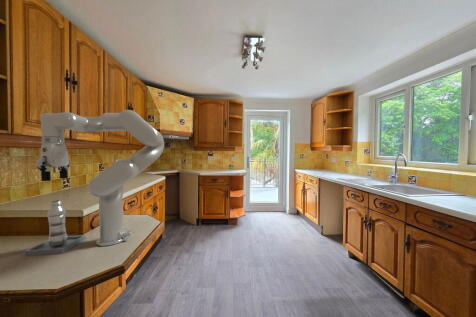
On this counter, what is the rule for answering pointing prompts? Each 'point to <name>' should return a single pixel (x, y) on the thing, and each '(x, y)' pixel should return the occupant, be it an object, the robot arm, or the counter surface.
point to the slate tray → (47, 249)
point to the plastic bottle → (57, 224)
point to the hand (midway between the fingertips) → (55, 179)
